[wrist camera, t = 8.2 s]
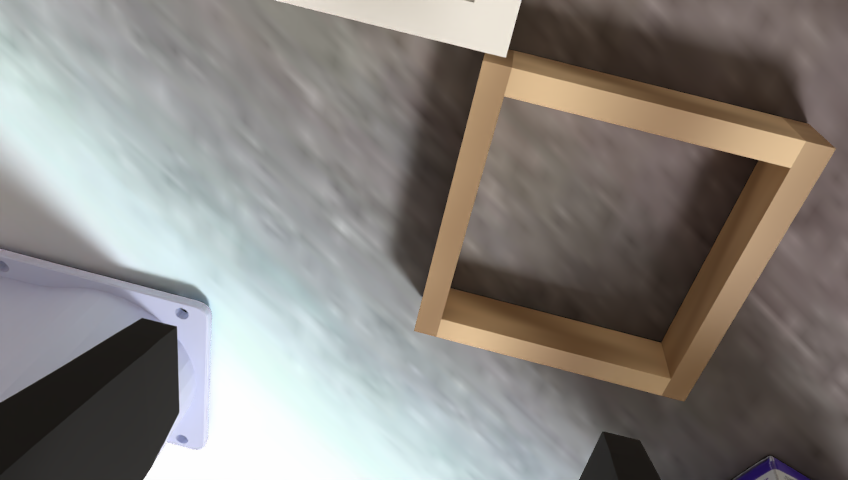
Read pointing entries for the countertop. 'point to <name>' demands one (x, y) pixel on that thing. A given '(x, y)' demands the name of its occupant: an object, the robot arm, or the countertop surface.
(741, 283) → the wooden square frame
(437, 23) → the white square tray
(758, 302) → the countertop surface
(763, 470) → the supplement box
